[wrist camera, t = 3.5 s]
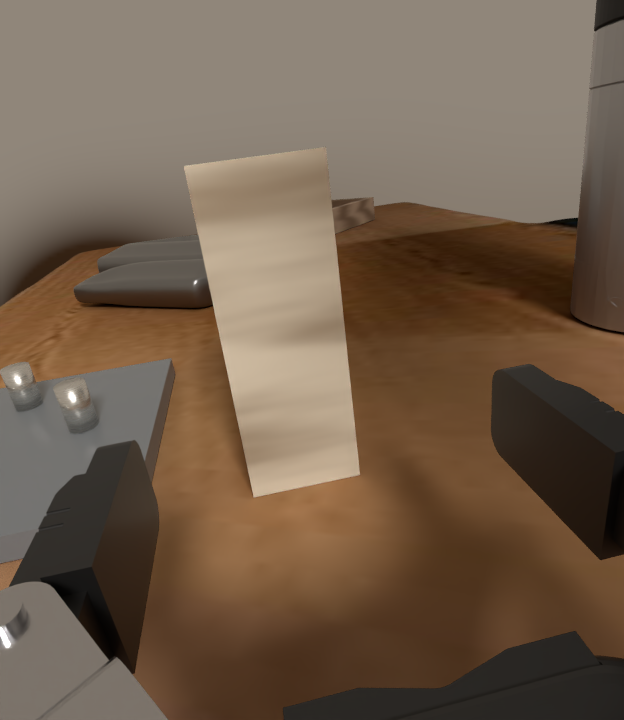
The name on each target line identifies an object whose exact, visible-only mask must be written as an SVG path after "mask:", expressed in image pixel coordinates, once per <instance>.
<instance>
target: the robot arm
mask: <svg viewBox="0 0 624 720" xmlns="http://www.w3.org/2000/svg"><path fill="white" fill-rule="evenodd" d="M594 31H595V33H594V40H593V52H592V64H591V75H590V87H589V89H590V91H589V101H588V114H587V125H586V137H585V148H584V159H583V170H582V182H581V194H580V205H579V217H578V228H577V240H576V251H575V260H574V272H573V284H572V295H571V307H570V309H571V313H572V314H573V315H574V316H575V317H576V318H578V319H579V320H581V321H583V322H585V323H588V324H590V325H593V326H597V327H601V328H604V329H609V330H614V331H620V332H624V0H597V3H596V14H595V27H594ZM491 433H492V439H493V442H494V445H495V448H496V450H497V452H498V453H499V455H500V456H501V457H502V458H503V459H504V460H505V461H506V462H507V463H508V465H509V466H510V467H511V468H512V469H513V470H514V471H515V472H516V473H517V474H518V475H519V476H520V477H521V478H522V479H523V480H524V481H525V482H526V483H527V484H528V485H529V486H530V487H531V488H532V490H533V491H534V492H535V493H536V494H537V495H538V496H539V497H540V498H541V499H542V500H543V501H544V502H545V503H546V504H547V505H548V506H549V507H550V508H551V509H552V510H553V511H554V512H555V514H556V515H557V516H558V517H559V518H560V519H561V520H562V521H563V522H564V523H565V524H566V525H567V526H568V527H569V528H570V529H571V530H572V531H573V532H574V533H575V534H576V535H577V536H578V538H579V539H580V540H581V541H582V542H583V543H584V544H585V545H586V546H587V547H588V548H589V549H590V550H591V551H592V552H593V553H594V554H595V555H596V556H597V557H598V558H599V559H600V560H603V559H607V558H611V557H615V556H619V555H623V554H624V414H622V413H620V412H619V411H616V412H615V410H614V408H612V407H611V406H609V405H608V404H606V403H604V402H600V401H599V399H598V398H596V397H595V396H593V395H591V394H590V393H588V392H587V391H585V390H583V389H582V388H580V387H577V386H574V385H570V384H567V383H564V382H561V381H558V380H555V379H554V378H552V377H551V376H549V375H548V374H546V373H544V372H543V371H541V370H540V369H538V368H537V367H535V366H533V365H531V364H526V365H521V366H516V367H511V368H506V369H501V370H497V371H496V372H495V373H494V375H493V380H492V415H491ZM46 514H47V515H46V516H44V518H43V520H42V522H41V524H40V526H39V528H38V529H39V532H36V534H35V536H34V538H33V540H32V542H31V544H30V546H29V548H28V550H27V552H26V554H25V556H24V558H23V560H22V562H21V564H20V566H19V568H18V570H17V572H16V574H15V576H14V578H13V580H12V582H11V584H10V586H9V587H8V588H6V589H3V590H1V591H0V720H168V719H167V718H166V717H165V715H164V714H163V713H162V712H161V710H160V709H159V708H158V706H157V705H156V704H155V703H154V701H153V700H152V699H151V698H150V696H149V695H148V694H147V693H146V691H145V690H144V689H143V688H142V686H141V685H140V684H139V683H138V681H137V680H136V679H135V678H134V676H133V675H132V674H133V673H135V667H136V661H137V655H138V649H139V643H140V637H141V631H142V626H143V620H144V614H145V608H146V602H147V596H148V590H149V584H150V578H151V572H152V566H153V561H154V555H155V549H156V543H157V537H158V531H159V512H158V505H157V501H156V497H155V494H154V490H153V487H152V484H151V481H150V478H149V474H148V471H147V468H146V465H145V461H144V458H143V455H142V452H141V449H140V446H139V444H138V443H137V441H135V440H132V441H127V442H121V443H116V444H111V445H106V446H101V447H98V448H97V449H96V451H95V453H94V455H93V458H92V460H91V462H90V464H89V467H88V469H87V471H86V474H81V475H76V476H73V477H72V478H71V479H70V480H69V481H68V482H67V483H66V484H65V485H64V486H63V487H62V488H61V489H60V490H59V491H58V492H57V493H56V494H55V496H54V498H53V500H52V502H51V504H50V506H49V508H48V510H47V512H46ZM283 714H284V720H624V659H622V658H615V657H607V656H594V655H593V654H592V652H591V651H590V650H589V648H588V647H587V646H586V644H585V643H584V642H583V640H582V639H581V638H580V636H579V635H578V634H577V632H576V631H573V632H569V633H565V634H561V635H558V636H554V637H550V638H546V639H542V640H539V641H535V642H531V643H527V644H523V645H520V646H516V647H512V648H508V649H506V650H504V651H503V652H501V653H500V654H498V655H496V656H495V657H493V658H492V659H490V660H488V661H487V662H485V663H483V664H482V665H480V666H479V667H477V668H475V669H474V670H472V671H471V672H469V673H467V674H466V675H464V676H462V677H461V678H459V679H458V680H456V681H454V682H453V683H451V684H449V685H447V686H445V687H442V688H435V689H425V688H356V689H353V690H349V691H345V692H341V693H337V694H334V695H330V696H326V697H322V698H318V699H315V700H311V701H307V702H303V703H299V704H296V705H292V706H288V707H284V708H283Z"/></svg>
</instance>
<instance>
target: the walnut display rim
mask: <svg viewBox="0 0 624 720" xmlns="http://www.w3.org/2000/svg"><path fill="white" fill-rule="evenodd" d="M331 202H332V211H333V221H334V230H335V234H337V233H339V232H342V231H345V230H347V229H350V228H353V227H356V226H358V225H361V224H364V223H366V222H369V221H372V220H375V215H374V201H373V197H371V198H355V199H340V200H331Z"/></svg>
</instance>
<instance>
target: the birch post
mask: <svg viewBox="0 0 624 720" xmlns="http://www.w3.org/2000/svg"><path fill="white" fill-rule="evenodd" d="M184 169H185V174H186V179H187V183H188V188H189V192H190V197H191V202H192V207H193V212H194V217H195V221H196V226H197V231H198V236H199V240H200V245H201V250H202V255H203V259H204V264H205V269H206V273H207V278H208V283H209V288H210V292H211V297H212V302H213V307H214V311H215V316H216V321H217V326H218V330H219V335H220V340H221V345H222V349H223V354H224V359H225V363H226V368H227V373H228V378H229V382H230V387H231V392H232V397H233V401H234V406H235V411H236V416H237V420H238V425H239V430H240V435H241V439H242V444H243V449H244V454H245V458H246V463H247V468H248V472H249V477H250V482H251V487H252V491H253V496H254V497H259V496H263V495H268V494H273V493H277V492H282V491H287V490H292V489H296V488H301V487H306V486H310V485H315V484H320V483H325V482H329V481H334V480H339V479H343V478H348V477H353V476H357V475H360V471H359V461H358V451H357V442H356V432H355V423H354V413H353V403H352V394H351V384H350V375H349V365H348V355H347V346H346V336H345V327H344V317H343V307H342V298H341V288H340V278H339V269H338V259H337V250H336V240H335V230H334V221H333V211H332V202H331V192H330V183H329V173H328V164H327V154H326V147H323V148H315V149H308V150H301V151H294V152H286V153H278V154H271V155H264V156H256V157H248V158H241V159H234V160H226V161H218V162H211V163H204V164H196V165H189V166H184Z"/></svg>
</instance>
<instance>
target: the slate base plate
mask: <svg viewBox="0 0 624 720" xmlns="http://www.w3.org/2000/svg"><path fill="white" fill-rule="evenodd" d="M0 373H1V376H2V378H3V381H4V383H5V385H6V388H1V389H0V563H4V562H9V561H13V560H18V559H23V558H24V556H25V554H26V552H27V550H28V548H29V546H30V544H31V542H32V540H33V538H34V536H35V534H36V532H39V529H38V528H39V526H40V524H41V522H42V520H43V518H44V516H46V515H47V514H46V512H47V510H48V508H49V506H50V504H51V502H52V500H53V498H54V496H55V494H56V493H57V492H58V491H59V490H60V489H61V488H62V487H63V486H64V485H65V484H66V483H67V482H68V481H69V480H70V479H71V478H72V477H73V476H76V475H81V474H86V471H87V469H88V467H89V464H90V462H91V460H92V458H93V455H94V453H95V451H96V449H97V448H98V447H101V446H106V445H111V444H116V443H121V442H127V441H132V440H135V441H137V443H138V444H139V446H140V449H141V452H142V455H143V458H144V461H145V465H146V468H147V471H148V474H149V478H150V481H151V483H152V478H153V474H154V469H155V465H156V460H157V455H158V451H159V446H160V442H161V437H162V433H163V428H164V424H165V419H166V414H167V410H168V405H169V401H170V396H171V392H172V387H173V382H174V378H175V371H174V367H173V363H172V359H165V360H159V361H154V362H148V363H142V364H137V365H131V366H125V367H120V368H114V369H109V370H103V371H97V372H92V373H86V374H80V375H75V376H69V377H63V378H58V379H52V380H46V381H41V382H36V381H35V378H34V375H33V373H32V370H31V368H30V365H29V363H28V362H20V363H15V364H12V365H9V366H6V367H4V368H3V369H1V370H0Z"/></svg>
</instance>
